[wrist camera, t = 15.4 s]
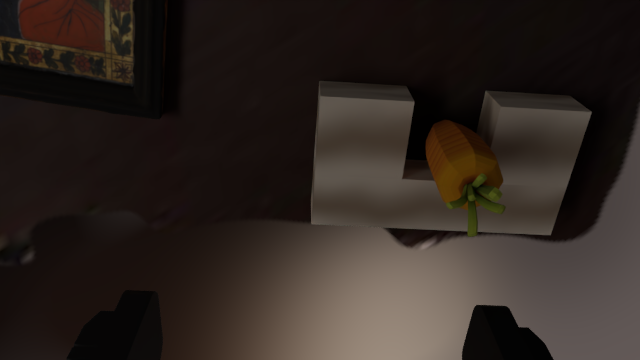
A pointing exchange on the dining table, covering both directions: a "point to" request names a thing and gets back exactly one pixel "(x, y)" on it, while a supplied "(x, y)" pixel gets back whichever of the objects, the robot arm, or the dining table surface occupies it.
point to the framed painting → (85, 53)
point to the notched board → (415, 175)
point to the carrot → (464, 170)
